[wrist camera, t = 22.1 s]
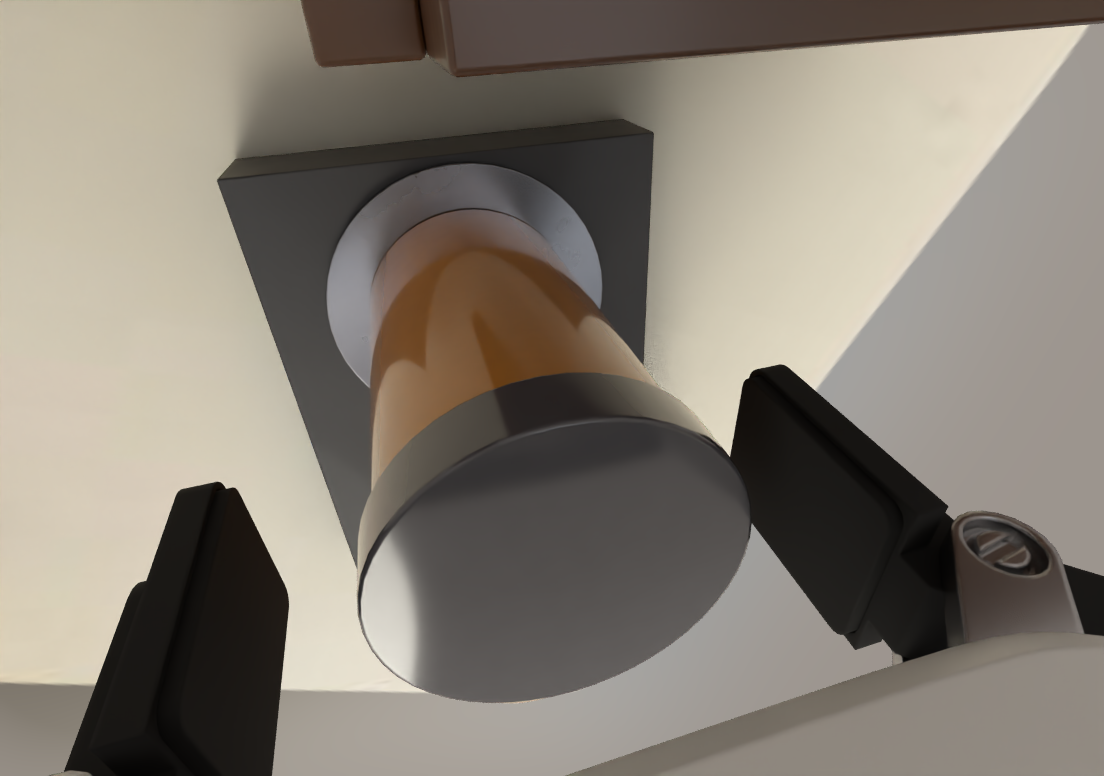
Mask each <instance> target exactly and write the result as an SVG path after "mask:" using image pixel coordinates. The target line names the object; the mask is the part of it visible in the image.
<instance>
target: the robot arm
mask: <svg viewBox="0 0 1104 776" xmlns="http://www.w3.org/2000/svg"><path fill="white" fill-rule="evenodd" d="M730 458H731V459H732V461H733V462H734V463H735V465H736V466H737V467H738V468H739V470H740V472H741V474H742V476H743V478H744V481H745V483H746V485H747V489H748V493H749V497H750V501H751V513H752V524H753V525H754V526H755V528H756V529H757V530H758V532H759V533H760V534H761V536H762V537H763V538H764V540H765V541H766V542H767V544H768V545H769V546H770V547H771V549H772V550H773V551H774V553H775V554H776V556H777V557H778V558H779V559H780V561H781V562H782V564H783V565H784V566H785V568H786V569H787V570H788V572H789V573H790V574H791V576H792V577H793V578H794V579H795V581H796V582H797V584H798V585H799V586H800V588H801V589H802V590H803V592H804V593H805V594H806V595H807V597H808V598H809V599H810V601H811V602H812V604H813V605H814V606H815V608H816V609H817V610H818V611H819V613H820V614H821V615H822V617H823V618H824V620H825V621H826V622H827V624H828V625H829V626H830V627H831V629H832V630H833V631H835V632H836V633H837V634H840V635H844V636H845V637H846V638H847V640H848V641H849V642H850V644H851V645H852V646H853V648H854V649H855V650H857V649H860V648H863V647H866V646H869V645H872V644H875V643H878V642H881V641H882V639H883V640H884V641H885V642H886V643H887V644H888V646H889V647H890V648H891V650H892V663H893V664H892V666H891V667H887V668H884V669H881V670H878V671H875V672H871V673H869V674H865V675H862V676H860V677H856V678H853V679H850V680H847V681H844V682H841V683H838V684H835V685H832V686H830V687H826V688H823V689H820V690H817V691H815V692H811V693H808V694H806V695H802V696H799V697H796V698H794V699H791V700H788V701H784V702H781V703H779V704H776V705H773V706H770V707H767V708H764V709H761V710H758V711H755V712H752V713H749V714H746V715H743V716H740V717H737V718H734V719H731V720H728V721H725V722H722V723H719V724H716V725H713V726H710V727H707V728H704V729H701V730H698V731H695V732H693V733H690V734H687V735H684V736H681V737H678V738H675V739H672V740H669V741H666V742H663V743H660V744H657V745H654V746H651V747H648V748H645V749H642V750H639V751H637V752H634V753H631V754H628V755H625V756H622V757H619V758H616V759H613V760H610V761H607V762H604V763H601V764H599V765H595V766H593V767H590V768H587V769H584V770H581V771H578V772H575V773H572V774H569V775H566V776H1104V576H1101V575H1098V574H1094V573H1091V572H1088V571H1085V570H1081V569H1078V568H1075V567H1071V566H1068V565H1065V564H1063V563H1062V560H1061V558H1060V556H1059V554H1058V552H1057V550H1056V548H1055V547H1054V546H1053V545H1052V544H1051V543H1050V542H1049V541H1048V540H1047V539H1046V538H1045V536H1043V535H1042V534H1040V533H1039V532H1038V531H1036V530H1035V529H1033V528H1032V527H1030V526H1029V525H1027V524H1025V523H1022V522H1021V521H1019V520H1017V519H1015V518H1012V517H1009V516H1005V515H1002V514H999V513H994V512H987V511H971V512H966V513H964V514H962V515H959V516H958V517H957V518H956V519H955V520H953V519H952V518H951V517H950V516H948V515H947V514H946V513H945V512H946V510H947V508H948V505H946V504H945V503H944V502H943V501H942V500H941V499H939V498H938V497H937V496H936V495H935V494H934V493H933V492H931V491H930V490H929V489H928V488H927V487H926V486H924V485H923V484H922V483H921V482H920V481H919V480H917V479H916V478H915V477H914V476H913V475H912V474H911V473H909V472H908V471H907V470H906V469H905V468H904V467H903V466H901V465H900V464H899V463H898V462H897V461H895V460H894V459H893V458H892V457H891V456H890V455H889V454H887V453H886V452H885V451H884V450H883V449H882V448H881V447H879V446H878V445H877V444H876V443H875V442H874V441H873V440H871V439H870V438H869V437H868V436H867V435H866V434H864V433H863V432H862V431H861V430H860V429H858V428H857V427H856V426H855V425H854V424H853V423H852V422H851V421H849V420H848V419H847V418H846V417H845V416H844V415H842V414H841V413H840V412H839V411H838V410H837V409H836V408H834V407H833V406H832V405H831V404H830V403H829V402H827V401H826V400H825V399H824V398H823V397H822V396H821V395H819V394H818V393H817V392H816V391H815V390H814V389H812V388H811V387H810V386H809V385H808V384H807V383H806V382H804V381H803V380H802V379H801V378H800V377H799V376H797V375H796V374H795V373H794V372H793V371H792V370H791V369H789V368H788V367H787V366H785V365H775V366H771V367H766V368H761V369H756V370H754V371H753V372H752V373H751V374H750V377H749V379H746V380H745V381H744V383H743V387H742V393H741V399H740V404H739V410H738V415H737V421H736V427H735V432H734V438H733V444H732V449H731V455H730ZM288 611H289V599H288V593H287V589H286V587H285V584H284V582H283V580H282V578H281V576H280V574H279V572H278V570H277V568H276V566H275V564H274V562H273V560H272V558H271V556H270V554H269V552H268V550H267V548H266V546H265V544H264V542H263V540H262V538H261V536H260V534H259V532H258V530H257V528H256V526H255V524H254V522H253V520H252V518H251V516H250V514H249V512H248V510H247V508H246V506H245V504H244V502H243V500H242V498H241V496H240V494H239V492H238V490H237V489H236V488H228V489H226V488H225V487H224V485H223V484H222V483H221V482H214V483H209V484H204V485H200V486H195V487H190V488H185V489H181V490H180V491H178V493H177V495H176V497H175V500H174V503H173V506H172V509H171V511H170V514H169V517H168V520H167V523H166V526H165V529H164V532H163V535H162V537H161V540H160V543H159V546H158V549H157V552H156V555H155V558H154V561H153V563H152V566H151V569H150V572H149V575H148V578H147V581H144V582H140V583H138V584H137V585H136V586H135V587H134V588H133V589H132V591H131V593H130V595H129V597H128V599H127V601H126V604H125V607H124V610H123V612H122V615H121V618H120V621H119V623H118V626H117V629H116V631H115V634H114V637H113V640H112V642H111V645H110V648H109V650H108V653H107V656H106V659H105V661H104V664H103V667H102V670H101V672H100V675H99V678H98V680H97V683H96V686H95V689H94V691H93V694H92V697H91V700H90V702H89V705H88V708H87V710H86V713H85V716H84V719H83V721H82V724H81V727H80V729H79V732H78V735H77V738H76V740H75V743H74V746H73V748H72V751H71V754H70V757H69V759H68V762H67V765H66V767H65V770H64V772H61V773H57V774H52V775H50V776H272V769H273V759H274V749H275V740H276V730H277V719H278V710H279V700H280V690H281V680H282V670H283V661H284V651H285V641H286V631H287V621H288Z"/></svg>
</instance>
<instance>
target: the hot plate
mask: <svg viewBox="0 0 1104 776" xmlns="http://www.w3.org/2000/svg"><path fill="white" fill-rule="evenodd" d="M653 138H654V133H653V132H651V131H649V130H647V129H644V128H642V127H640V126H637V125H635V124H633V123H631V122H628V121H626V120H624V119H621V120H612V121H602V122H592V123H583V124H573V125H563V126H553V127H544V128H534V129H524V130H514V131H505V132H495V133H485V134H476V135H466V136H456V137H446V138H437V139H427V140H417V141H407V142H398V143H388V144H378V145H368V146H359V147H349V148H339V149H330V150H320V151H310V152H300V153H291V154H281V155H271V156H261V157H252V158H242V159H235V160H234V161H233V162H232V163H231V165H230V166H229V167H228V168H227V169H226V170H225V171H224V173H223V174H222V175H221V176H220V177H219V178H218V179H217V182H218V185H219V188H220V190H221V193H222V196H223V199H224V202H225V204H226V207H227V210H228V213H229V215H230V218H231V221H232V224H233V227H234V229H235V232H236V235H237V238H238V240H239V243H240V246H241V249H242V251H243V254H244V257H245V260H246V263H247V265H248V268H249V271H250V274H251V276H252V279H253V282H254V285H255V287H256V290H257V293H258V296H259V299H260V301H261V304H262V307H263V310H264V312H265V315H266V318H267V321H268V324H269V326H270V329H271V332H272V335H273V337H274V340H275V343H276V346H277V348H278V351H279V354H280V357H281V360H282V362H283V365H284V368H285V371H286V373H287V376H288V379H289V382H290V384H291V387H292V390H293V393H294V396H295V398H296V401H297V404H298V407H299V409H300V412H301V415H302V418H303V421H304V423H305V426H306V429H307V432H308V434H309V437H310V440H311V443H312V445H313V448H314V451H315V454H316V457H317V459H318V462H319V465H320V468H321V470H322V473H323V476H324V479H325V482H326V484H327V487H328V490H329V493H330V495H331V498H332V501H333V504H334V506H335V509H336V512H337V515H338V518H339V520H340V523H341V526H342V529H343V531H344V534H345V537H346V540H347V542H348V545H349V548H350V551H351V554H352V556H353V559H354V562H355V565H356V567H357V561H358V535H359V528H360V522H361V517H362V514H363V511H364V508H365V505H366V502H367V499H368V497H369V496H370V494H371V467H370V388H369V387H368V386H367V385H366V384H365V383H364V382H363V381H362V380H361V379H360V378H359V377H358V376H357V375H356V374H355V373H354V372H353V370H352V369H351V368H350V366H349V365H348V364H347V362H346V361H345V360H344V358H343V356H342V354H341V352H340V351H339V349H338V347H337V345H336V342H335V340H334V337H333V334H332V332H331V329H330V324H329V320H328V315H327V306H326V286H327V275H328V271H329V266H330V262H331V258H332V255H333V252H334V250H335V247H336V245H337V243H338V240H339V238H340V236H341V234H342V233H343V231H344V229H345V228H346V226H347V224H348V223H349V221H350V220H351V219H352V218H353V216H354V215H355V214H356V213H357V211H358V210H359V209H360V208H361V207H362V206H363V205H364V204H365V203H366V202H367V201H368V200H369V199H370V198H371V197H372V196H373V195H375V194H376V193H377V192H378V191H380V190H381V189H383V188H384V187H386V186H387V185H389V184H390V183H392V182H393V181H395V180H397V179H399V178H401V177H403V176H405V175H407V174H409V173H411V172H414V171H417V170H420V169H423V168H426V167H429V166H432V165H438V164H443V163H449V162H464V161H476V162H486V163H494V164H498V165H502V166H506V167H511V168H513V169H516V170H519V171H521V172H524V173H526V174H529V175H531V176H532V177H534V178H536V179H538V180H539V181H541V182H543V183H545V184H546V185H548V186H549V187H550V188H551V189H553V190H554V191H555V192H557V193H558V194H559V195H560V196H561V197H562V198H563V199H564V200H565V201H566V202H567V203H568V204H569V205H570V206H571V207H572V208H573V209H574V210H575V211H576V213H577V214H578V215H579V217H580V218H581V219H582V221H583V222H584V224H585V225H586V227H587V229H588V231H589V233H590V235H591V237H592V239H593V241H594V244H595V247H596V250H597V252H598V256H599V260H600V265H601V270H602V284H603V289H602V303H601V308H600V310H601V311H602V313H603V314H604V315H605V317H606V318H607V319H608V320H609V322H610V323H611V324H612V326H613V327H614V328H615V330H616V331H617V332H618V333H619V335H620V336H621V337H622V339H623V340H624V341H625V343H626V344H627V345H628V346H629V348H630V349H631V350H632V352H633V353H634V354H635V356H636V357H637V358H638V359H639V361H640V362H641V363H642V365H643V362H644V340H645V318H646V295H647V273H648V250H649V228H650V205H651V183H652V160H653Z"/></svg>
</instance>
